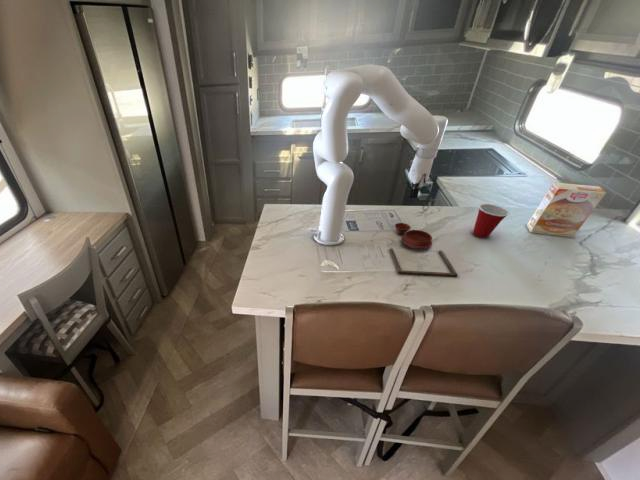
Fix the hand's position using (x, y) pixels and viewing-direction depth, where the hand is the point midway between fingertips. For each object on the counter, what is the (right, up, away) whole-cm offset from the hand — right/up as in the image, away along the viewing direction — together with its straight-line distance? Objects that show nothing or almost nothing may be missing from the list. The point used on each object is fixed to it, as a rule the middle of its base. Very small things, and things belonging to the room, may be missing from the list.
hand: (412, 197), depth 136 cm
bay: (-4, -30, -13) cm, 33 cm away
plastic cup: (+30, -16, 0) cm, 34 cm away
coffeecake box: (+59, -15, 0) cm, 61 cm away
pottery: (-2, -19, -1) cm, 19 cm away
